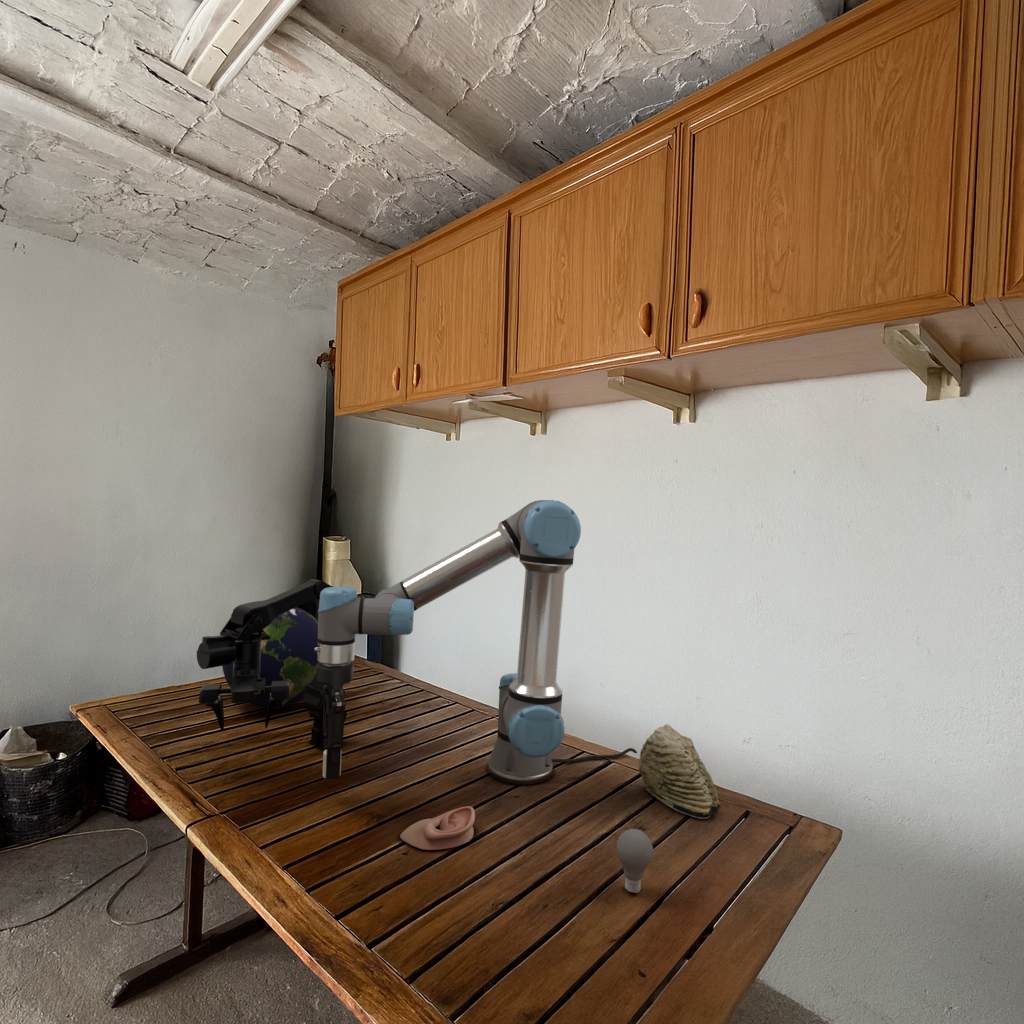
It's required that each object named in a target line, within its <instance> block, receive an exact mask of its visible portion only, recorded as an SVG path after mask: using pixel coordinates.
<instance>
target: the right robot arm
mask: <svg viewBox="0 0 1024 1024" xmlns="http://www.w3.org/2000/svg"><path fill="white" fill-rule="evenodd" d="M581 535H582V526H581V522H580V519H579V517H578V515H577V513H576V512H575V511H574V510H573V509H572V508H571V507H570V506H569V505H567V504H566V503H564V502H562V501H560V500H554V499H538V500H534V501H532V502H529V503H528V504H526V505H525V506H523V507H522V508H520V509H519V510H518V511H516V512H514V513H513V514H512V515H510V516H509V517H507V518H505V519H504V520H502V521H500V522H498V525H497V528H496V529H494V530H493V531H491V532H489V533H487V534H485V535H484V536H481V537H480V538H478V539H476V540H474V541H472V542H471V543H468V544H467V545H465V546H463V547H461V548H460V549H458V550H456V551H454V552H452V553H450V554H448V555H446V556H445V557H443V558H441V559H440V560H437V561H435V562H434V563H432V564H430V565H428V566H426V567H424V568H423V569H421V570H419V571H418V572H416V573H414V574H412V575H410V576H408V577H407V578H404V579H402V580H401V581H399V582H398V583H395V584H393V585H392V586H390V587H385V588H383V589H382V590H379V591H378V592H377V594H376V595H375V596H374V597H373V598H372V597H369V598H367V597H358V592H357V591H358V590H357V589H356V588H354V587H349V586H333V587H328V588H325V589H323V590H322V591H321V593H320V600H319V604H318V610H317V621H318V647H315V648H314V651H315V652H317V661H318V662H319V663H318V664H317V666H316V681H317V682H318V683H320V684H323V685H324V687H323V695H324V707H323V728H322V730H323V732H324V734H323V736H324V738H326V739H324V749H322V751H323V752H324V751H325V750H327V756H326V778H325V780H326V781H331V780H337V779H340V778H341V775H340V758H341V759H342V752H341V751H342V749H343V748H344V743H343V741H344V734H345V733H344V732H345V721H344V715H345V711H346V706H347V702H346V701H345V700H346V690H344V687H343V686H344V685H346V684H349V683H351V682H352V681H353V680H354V675H355V663H354V662H353V661H354V660H355V655H356V654H355V651H356V635H372V636H373V635H375V636H377V635H378V636H379V635H380V636H394V637H397V636H404V635H405V636H408V635H410V634H412V633H413V631H414V614H415V611H417V610H419V609H421V608H422V607H425V606H427V605H428V604H430V603H431V602H434V601H435V600H437V599H439V598H440V597H442V596H444V595H446V594H448V593H450V592H452V591H454V590H455V589H457V588H459V587H461V586H463V585H464V584H466V583H468V582H470V581H472V580H473V579H476V578H477V577H479V576H481V575H483V574H484V573H487V572H489V571H490V570H492V569H494V568H495V567H498V566H499V565H501V564H503V563H505V562H507V561H509V560H510V559H513V558H515V559H518V560H519V562H520V564H522V566H523V567H524V570H525V571H524V572H525V573H524V584H523V585H524V586H523V597H522V610H521V624H520V634H519V647H518V657H517V659H518V660H517V670H516V671H517V672H512V673H507V674H506V673H505V674H503V675H502V676H501V677H500V679H499V686H498V690H499V691H498V692H499V693H498V714H497V737H496V740H495V743H494V745H493V748H492V750H491V753H490V756H489V760H488V769H487V770H488V771H487V772H488V773H489V775H491V776H492V777H493V778H495V779H496V780H499V781H500V782H504V783H507V784H513V785H523V786H524V785H525V786H526V785H533V784H534V785H535V784H539V783H543V782H545V781H547V780H549V779H550V778H551V777H552V775H553V763H564V764H565V763H568V764H569V763H577V762H581V761H582V762H583V761H586V760H595V759H596V760H597V759H615V758H616V759H617V758H620V757H622V756H625V755H626V754H627V753H629V752H632V753H634V754H638V751H637V750H636V749H635V748H633V747H628V748H627V749H624V750H623V751H621V752H620V753H615V754H594V755H587V756H582V757H576V758H566V759H565V758H563V759H562V758H551V754H552V753H553V752H554V751H555V750H557V749H558V748H559V747H560V745H561V744H562V742H563V740H564V737H565V723H564V719H563V717H562V704H563V703H562V702H563V689H562V687H561V686H560V685H559V684H558V683H557V677H558V664H559V655H560V654H559V653H560V642H561V641H560V640H561V629H562V616H563V605H564V604H563V603H564V593H565V582H566V581H565V580H566V572H568V570H569V569H570V568H572V567H573V566H574V558H575V549H576V547H577V546H578V544H579V542H580V538H581ZM323 752H322V753H323Z"/></svg>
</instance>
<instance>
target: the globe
mask: <svg viewBox="0 0 1024 1024" xmlns="http://www.w3.org/2000/svg"><path fill="white" fill-rule="evenodd" d="M263 630H264V631H265V633H266V634H268V635H269V636H270V637H271V638H270V639H268V640H262V641H261V661H260V679H261V678H265V686H271V685H272V681H288V682H289V683H290V686H289V698H288V699H283V702H281V703H278V704H277V705H276V707H275V709H282V708H285V707H289V706H293V705H295V704H298V703H299V702H301V701H302V700H303V698H304V696H305V688H306V686H307V685H310V686H311V685H312V684H313V682H314V681H315V680H316V666H317V664H318V663H319V662H318V661H317V652H315V651H314V648H315V647H318V619H317V618H315V616H314V615H312V614H311V613H310V612H308V611H305V610H304V609H302V608H299V607H296V608H294V609H292V610H289V611H287V612H285V613H283V614H281V615H279V616H278V617H276V618H275V619H274V620H273V622H272V623H271V624H270V625H268V626H267V627H266V628H264V629H263ZM236 631H239V632H241V630H239V629H236ZM221 667H222V672H223V676H224V678H225V679H224V680H225V681H226V683H227V685H228V688H231V681H232V679H233V662H232V663H231V664H230V665H224V666H221ZM269 699H270V694H268V695H260V696H256V697H255V701H254V702H252V703H248V705H251V706H254V707H258V708H262V709H268V704H269Z"/></svg>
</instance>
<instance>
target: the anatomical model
mask: <svg viewBox="0 0 1024 1024" xmlns="http://www.w3.org/2000/svg"><path fill="white" fill-rule="evenodd" d="M475 821H476V812H475V809H474V808H473V806H470V805H467V806H462V807H461V806H460V807H458V808H454V809H452V810H448V811H446V812H444V813H442V814H440V815H437V816H435V817H432V818H426V819H425V818H424V819H420V820H418V821H416V822H414V823H413V824H411V825H409V826H408V827H407V828H405V829H404V830H403V831H402V833H401V834H400V835H399V836H400V839H401V840H402V841H403V842H404V843H406V844H408V845H410V846H412V847H414V848H417V849H420V850H423V851H436V850H445V849H451V848H456V847H459V846H462V845H464V844H467V843H468V842H470V841H471V840H472V839H473V838H474V833H475V831H474V823H475Z"/></svg>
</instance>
